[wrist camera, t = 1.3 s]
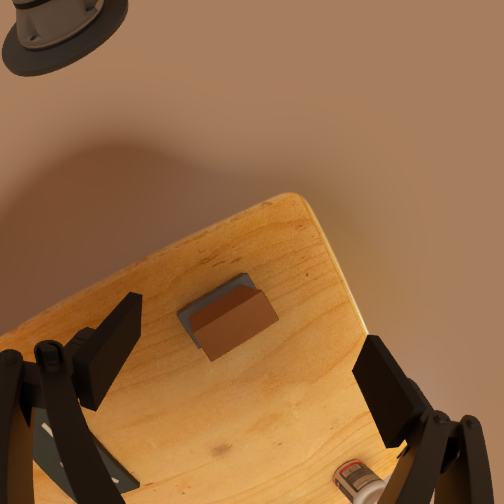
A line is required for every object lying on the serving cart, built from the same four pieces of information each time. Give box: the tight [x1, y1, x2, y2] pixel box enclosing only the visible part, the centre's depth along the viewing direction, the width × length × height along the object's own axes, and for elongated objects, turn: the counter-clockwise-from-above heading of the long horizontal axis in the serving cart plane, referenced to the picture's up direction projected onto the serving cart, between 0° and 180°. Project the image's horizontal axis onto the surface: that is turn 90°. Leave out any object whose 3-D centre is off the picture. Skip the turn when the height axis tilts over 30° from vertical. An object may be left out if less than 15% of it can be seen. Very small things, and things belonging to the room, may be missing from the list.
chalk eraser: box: [177, 273, 279, 362], centre depth 26 cm, size 4×8×10 cm, turn 121°
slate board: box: [33, 408, 140, 504], centre depth 25 cm, size 16×12×1 cm
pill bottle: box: [333, 460, 386, 504], centre depth 29 cm, size 5×5×10 cm
